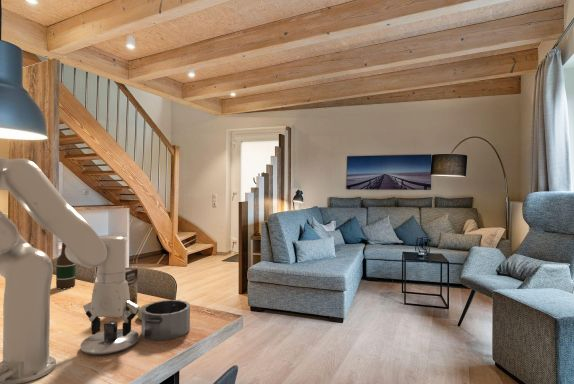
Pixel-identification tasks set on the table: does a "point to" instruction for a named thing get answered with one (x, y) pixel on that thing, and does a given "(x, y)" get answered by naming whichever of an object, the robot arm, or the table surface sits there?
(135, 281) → the coffee box
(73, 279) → the beer bottle
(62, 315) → the table surface
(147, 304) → the sea urchin shell
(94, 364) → the table surface
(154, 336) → the pot
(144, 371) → the table surface
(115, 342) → the lid
